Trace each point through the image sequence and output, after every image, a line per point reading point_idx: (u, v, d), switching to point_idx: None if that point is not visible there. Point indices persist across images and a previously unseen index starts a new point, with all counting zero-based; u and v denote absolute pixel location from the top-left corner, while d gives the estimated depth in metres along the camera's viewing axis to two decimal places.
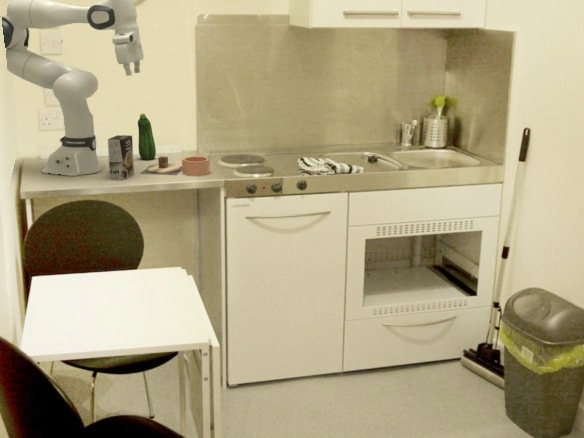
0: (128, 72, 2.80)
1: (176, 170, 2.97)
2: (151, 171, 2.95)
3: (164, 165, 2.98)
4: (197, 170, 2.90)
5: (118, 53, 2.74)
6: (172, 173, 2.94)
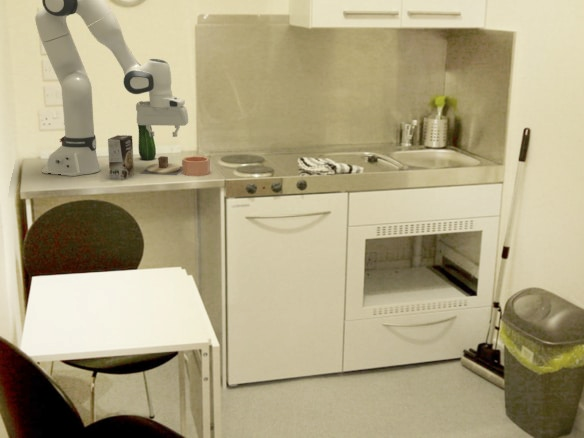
0: (176, 133, 2.95)
1: (176, 170, 2.97)
2: (151, 171, 2.95)
3: (164, 165, 2.98)
4: (197, 170, 2.90)
5: (185, 115, 2.91)
6: (172, 173, 2.94)
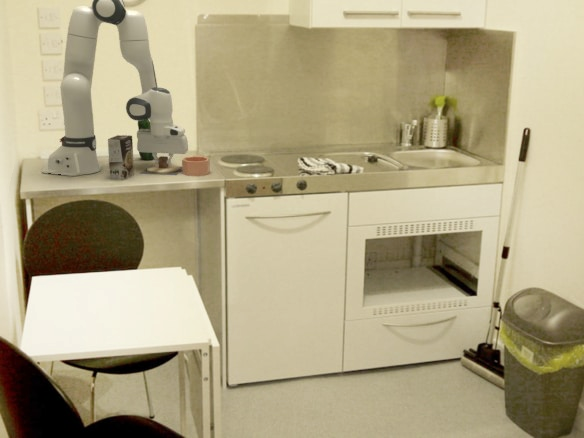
0: (170, 161, 2.98)
1: (176, 170, 2.97)
2: (151, 171, 2.95)
3: (164, 165, 2.98)
4: (197, 170, 2.90)
5: (185, 144, 2.94)
6: (172, 173, 2.94)
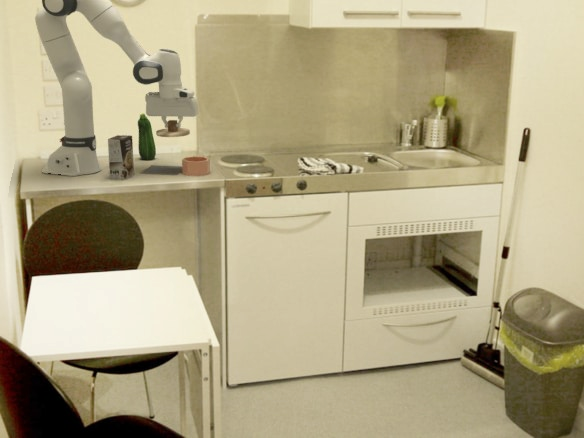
0: (180, 124, 2.93)
1: (186, 133, 2.91)
2: (161, 135, 2.89)
3: (174, 129, 2.92)
4: (197, 170, 2.90)
5: (195, 106, 2.89)
6: (172, 173, 2.94)
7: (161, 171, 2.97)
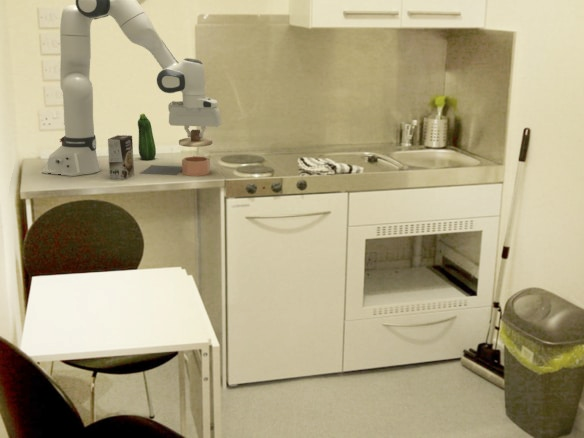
0: (202, 134, 2.91)
1: (209, 143, 2.90)
2: (183, 144, 2.88)
3: (196, 138, 2.91)
4: (197, 170, 2.90)
5: (219, 116, 2.87)
6: (172, 173, 2.94)
7: (161, 171, 2.97)
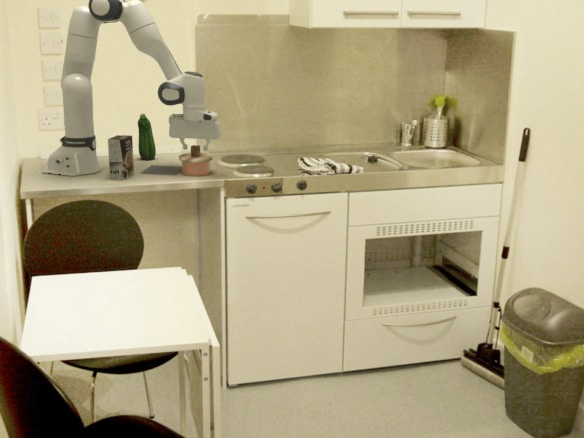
0: (207, 147, 2.92)
1: (209, 159, 2.91)
2: (184, 160, 2.89)
3: (196, 154, 2.92)
4: (197, 170, 2.90)
5: (219, 129, 2.89)
6: (172, 173, 2.94)
7: (161, 171, 2.97)
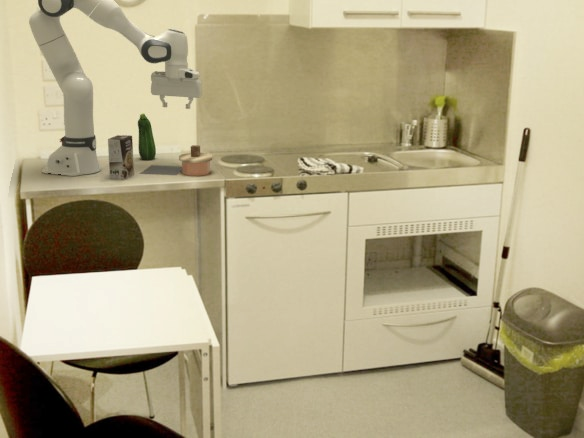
0: (189, 105, 2.96)
1: (209, 159, 2.91)
2: (184, 160, 2.89)
3: (196, 154, 2.92)
4: (197, 170, 2.90)
5: (200, 87, 2.92)
6: (172, 173, 2.94)
7: (161, 171, 2.97)
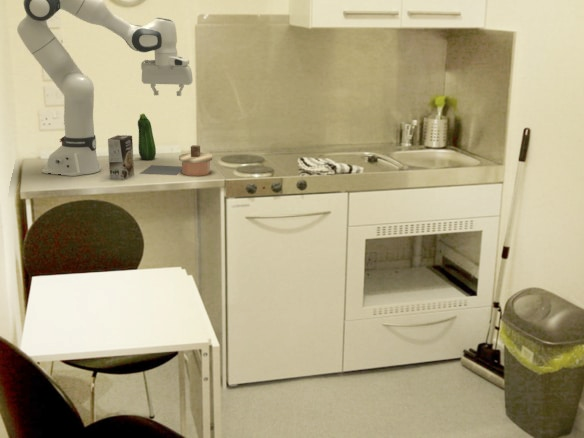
0: (180, 92, 2.99)
1: (209, 159, 2.91)
2: (184, 160, 2.89)
3: (196, 154, 2.92)
4: (197, 170, 2.90)
5: (190, 74, 2.95)
6: (172, 173, 2.94)
7: (161, 171, 2.97)
